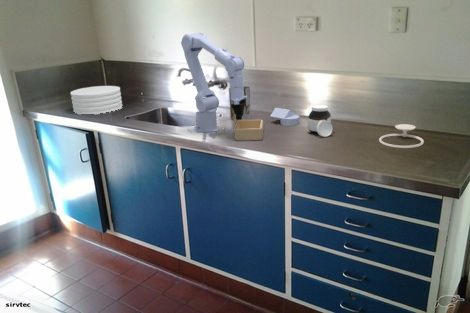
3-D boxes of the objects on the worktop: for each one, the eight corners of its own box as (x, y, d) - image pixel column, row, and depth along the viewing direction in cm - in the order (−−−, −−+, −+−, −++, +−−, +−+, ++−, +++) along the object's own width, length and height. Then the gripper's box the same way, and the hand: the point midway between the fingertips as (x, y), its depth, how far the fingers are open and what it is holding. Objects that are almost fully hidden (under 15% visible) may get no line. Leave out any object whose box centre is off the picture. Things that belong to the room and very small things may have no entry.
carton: (235, 140, 186) (234, 129, 185) (238, 130, 201) (238, 120, 200) (261, 140, 185) (261, 129, 184) (263, 130, 200) (263, 119, 198)
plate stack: (63, 112, 256) (60, 93, 252) (100, 102, 278) (97, 84, 275) (96, 116, 242) (93, 96, 238) (132, 106, 264) (129, 87, 260)
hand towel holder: (374, 135, 171) (386, 122, 187) (374, 146, 172) (385, 132, 189) (421, 140, 163) (428, 125, 179) (420, 151, 164) (427, 136, 181)
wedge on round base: (270, 123, 211) (292, 127, 203) (269, 109, 209) (292, 112, 201) (281, 119, 217) (303, 122, 209) (281, 105, 215) (303, 109, 207)
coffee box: (251, 117, 223) (250, 86, 218) (247, 120, 218) (245, 88, 212) (234, 116, 227) (233, 85, 221) (230, 119, 221) (228, 88, 216)
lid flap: (234, 128, 186) (233, 128, 186) (237, 120, 199) (236, 120, 199) (235, 115, 184) (234, 115, 184) (238, 107, 197) (237, 107, 197)
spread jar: (318, 128, 198) (319, 103, 195) (340, 132, 191) (341, 106, 187) (302, 134, 191) (302, 108, 187) (324, 139, 183) (325, 112, 179)
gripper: (244, 88, 179) (247, 120, 183) (247, 83, 193) (250, 113, 197) (227, 90, 180) (231, 122, 184) (231, 84, 194) (234, 114, 198)
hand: (239, 117), depth 190 cm, fingers open, 7 cm apart
